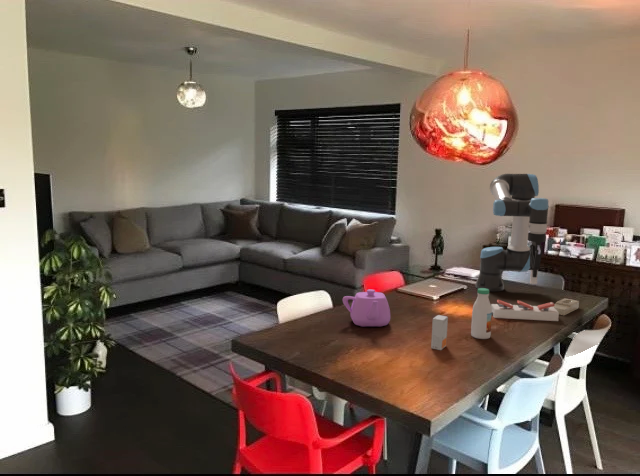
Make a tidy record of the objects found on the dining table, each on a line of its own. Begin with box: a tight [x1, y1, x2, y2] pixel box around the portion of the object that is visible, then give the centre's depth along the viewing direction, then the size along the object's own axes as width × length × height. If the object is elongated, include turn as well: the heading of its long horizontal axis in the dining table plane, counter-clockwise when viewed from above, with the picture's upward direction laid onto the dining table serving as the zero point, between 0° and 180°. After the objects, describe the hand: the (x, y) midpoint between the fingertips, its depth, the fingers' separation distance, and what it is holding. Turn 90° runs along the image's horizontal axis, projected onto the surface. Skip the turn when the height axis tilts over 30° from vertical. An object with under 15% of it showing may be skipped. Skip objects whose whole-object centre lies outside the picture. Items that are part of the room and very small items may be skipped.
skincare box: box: [430, 314, 449, 351], centre depth 204 cm, size 6×4×12 cm
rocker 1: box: [496, 299, 514, 308], centre depth 244 cm, size 3×7×1 cm, turn 81°
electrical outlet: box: [553, 298, 580, 316], centre depth 256 cm, size 7×4×18 cm
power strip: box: [490, 303, 559, 322], centre depth 246 cm, size 9×35×5 cm, turn 82°
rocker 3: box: [536, 301, 555, 310], centre depth 242 cm, size 3×7×1 cm, turn 82°
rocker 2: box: [516, 299, 534, 310], centre depth 243 cm, size 3×7×1 cm, turn 82°
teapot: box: [342, 289, 391, 328], centre depth 229 cm, size 23×21×15 cm
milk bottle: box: [470, 288, 493, 340], centre depth 216 cm, size 8×8×20 cm
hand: (533, 283), depth 241 cm, fingers closed
